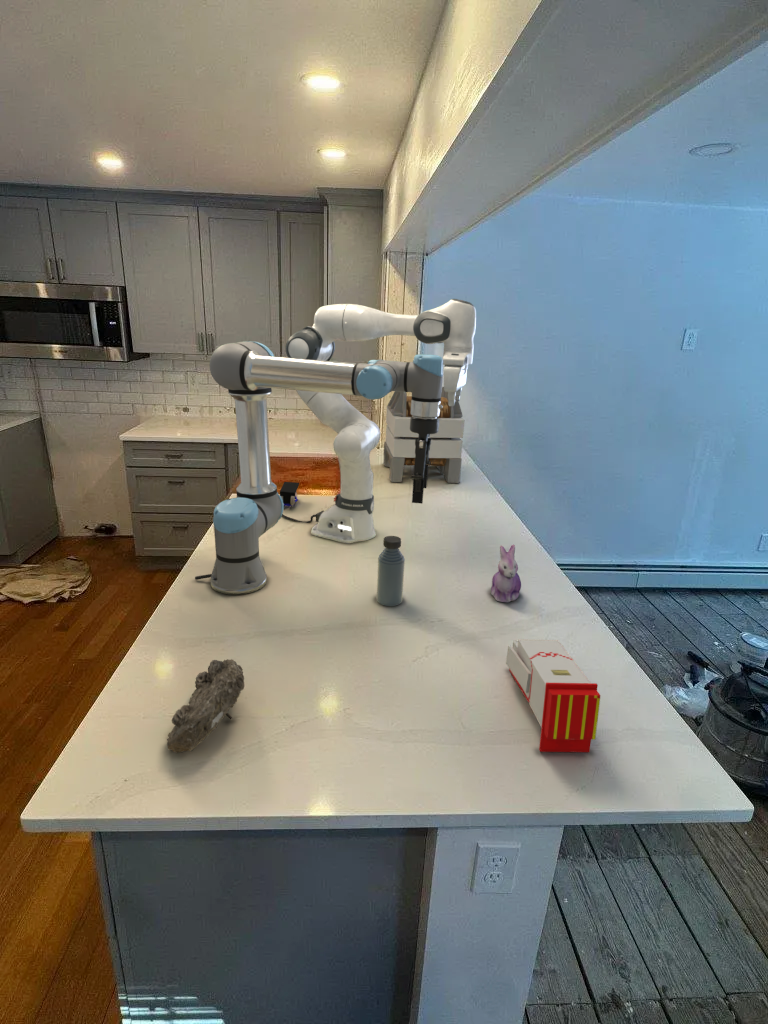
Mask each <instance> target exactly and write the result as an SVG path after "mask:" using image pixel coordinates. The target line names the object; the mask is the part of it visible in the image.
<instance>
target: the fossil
mask: <svg viewBox="0 0 768 1024" xmlns="http://www.w3.org/2000/svg"><path fill="white" fill-rule="evenodd" d="M243 670H244V669H243V667H242V665H240V664H237V662H236V661H235V660H234V659H232V658H231V659H227V658H226V659H224V660H223V661H222V660H217V659H212V660H211V661H210V663H209V665H208V666H207V671H201V672H199V673H198V674H197V675H196V676H195V680H194V684H195V685H194V687H195V689H194V690H193V693H192V694H191V697H190V698H189V700H188V704H184V705H182V706H181V707H180V709H177V710H176V711H175V713H174V715H173V716H172V718H171V723H172V724H173V727H172V730H171V731H170V732H168V734H167V738H166V741H167V742H166V745H167V749H168V750H169V751H173V752H174V753H176V754H178V753H182V752H188V751H189V752H192V751H193V750H195V748H196V747H197V746H199V744H200V743H201V742H203V741H204V740H205V739H206V738H207V737H208V736H209V735H210V734H211V733H212V732H214V730H215V729H217V727H218V726H219V724H220V722H221V721H222V720H223V719H224V718H225V716H226V717H227V719H229V720H233V717H232V715H230V714H229V710H230V709H231V708H234V706H235V704H236V703H237V702H238V699H239V697H240V695H241V693H242V691H243V690H245V689H244V688H245V675H244V671H243Z"/></svg>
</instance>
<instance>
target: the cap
mask: <svg viewBox="0 0 768 1024" xmlns="http://www.w3.org/2000/svg"><path fill="white" fill-rule="evenodd" d="M382 543H383V547H384V549H385V548H388V549H400V548H401V547H402V538H401V537H399V536H398V535H397V536H396V535H387V536H385V537H384V538H383V542H382Z"/></svg>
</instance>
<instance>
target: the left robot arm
mask: <svg viewBox="0 0 768 1024" xmlns="http://www.w3.org/2000/svg"><path fill="white" fill-rule="evenodd" d="M209 359H210V360H209V372H210V375H211V377H212V378H213V380H214V381H215V383H217V385H219V386H220V387H222V388H224V389H226V390H227V391H228V394H229V396H231V397H232V398H233V399H234V409H235V418H236V419H235V421H236V433H237V434H236V435H237V445H238V446H237V447H238V448H237V449H238V459H239V472H240V483H239V484H238V485H237V486H236V488H235V489H236V490H235V491H236V492H235V493H236V497H232V498H229V499H230V500H227V499H224V500H223V501H221V502H219V503H218V504H216V506H215V508H214V510H213V518H212V524H213V532H214V533H213V534H214V547H215V561H214V565H213V569H212V570H211V571H212V572H211V573H208V574H202V575H197V576H195V577H194V579H195V581H199V580H204V579H208V578H209V579H210V586H211V588H212V589H213V590H214V591H216V592H218V593H220V594H224V595H235V596H236V595H238V596H239V595H245V594H250V593H254V592H257V591H259V590H261V589H263V587H264V586H265V585H266V584H267V582H268V581H267V572H266V568H265V565H264V563H263V561H262V559H261V556H260V540H259V539H260V537H261V536H263V535H264V534H265V533H267V532H268V531H269V530H270V529H271V528H273V527H275V525H277V524H278V522H279V521H280V519H281V518H282V514H283V515H284V511H285V510H284V509H285V508H284V504H283V500H282V498H281V496H280V493H279V491H278V487H277V486H278V485H277V484H275V483H274V482H273V481H272V470H271V469H272V468H271V455H270V435H269V434H270V433H269V420H268V402H267V400H268V397H269V396H270V395H271V394H272V393H273V390H272V389H278V390H279V389H280V390H291V391H296V390H301V391H313V392H324V393H336V394H342V395H347V396H348V395H350V396H357V397H363V398H365V399H367V400H371V401H372V400H374V401H375V400H380V399H383V398H384V397H386V396H387V395H388V394H390V393H392V392H395V391H399V392H406V393H411V396H412V399H411V412H410V414H411V415H412V417H411V418H410V431H411V432H413V433H418V434H419V436H418V437H416V440H415V446H416V447H415V465H414V466H413V475H410V479H411V480H413V481H412V495H411V504H421V505H422V504H423V502H424V501H423V500H424V489H427V487H428V473H429V465H430V466H432V465H431V461H428V460H429V450H430V445H431V438H430V434H435V433H437V432H438V430H439V419H438V418H437V417H438V416H439V415H440V409H442V408H443V406H442V405H439V404H440V401H441V392H442V387H443V382H444V365H443V356H441V355H437V354H423V353H419V354H418V353H417V354H415V355H414V356H413V360H412V361H397V360H387V359H386V360H384V359H370V360H369V361H367V363H358V362H346V361H334V360H333V361H332V360H329V361H322V360H310V359H298V358H288V357H284V356H275V355H274V353H273V351H272V350H271V349H270V348H269V347H268V346H266V345H265V344H263V343H262V342H258V341H250V340H247V341H246V340H245V341H244V340H243V341H237V342H230V343H225V344H221V345H220V346H218V347H217V348H216V349H215V350H213V352H212V354H211V356H210V358H209ZM426 464H427V465H426Z"/></svg>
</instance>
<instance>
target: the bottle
mask: <svg viewBox="0 0 768 1024" xmlns="http://www.w3.org/2000/svg"><path fill="white" fill-rule="evenodd" d="M405 562H406V559H405V556H404V555H403V553H402V552H401V550H400V548H398V549H388V548H385V547H384V548H383V550H382V551H381V553H380V554H379V555H378V557H377V571H376V572H377V573H376V576H377V577H376V594H375V595H376V597H375V599H376V602H377V603H378V604H379V605H381V606H385V607H395V606H399V605H400V604H402V603H403V594H404V582H405V581H404V579H405V564H406V563H405Z"/></svg>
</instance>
